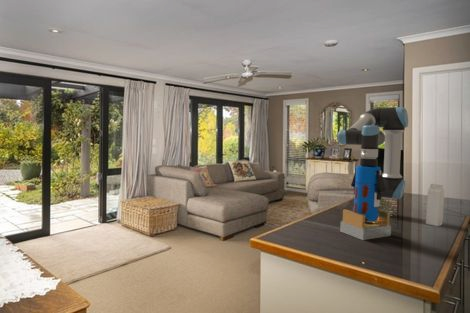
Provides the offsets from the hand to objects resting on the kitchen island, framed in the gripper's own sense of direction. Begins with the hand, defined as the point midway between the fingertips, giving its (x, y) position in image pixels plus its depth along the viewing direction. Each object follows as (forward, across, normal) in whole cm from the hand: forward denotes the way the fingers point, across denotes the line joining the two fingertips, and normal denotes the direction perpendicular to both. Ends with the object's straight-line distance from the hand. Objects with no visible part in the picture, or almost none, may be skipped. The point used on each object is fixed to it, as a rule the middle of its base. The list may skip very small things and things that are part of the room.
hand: (366, 203), depth 150 cm
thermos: (+7, 0, 0) cm, 7 cm away
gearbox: (+14, 0, 0) cm, 14 cm away
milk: (+15, +1, +51) cm, 53 cm away
